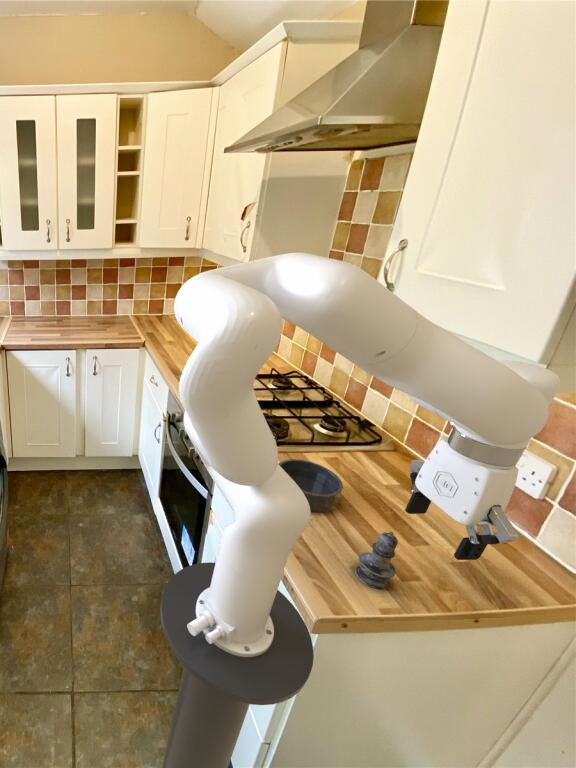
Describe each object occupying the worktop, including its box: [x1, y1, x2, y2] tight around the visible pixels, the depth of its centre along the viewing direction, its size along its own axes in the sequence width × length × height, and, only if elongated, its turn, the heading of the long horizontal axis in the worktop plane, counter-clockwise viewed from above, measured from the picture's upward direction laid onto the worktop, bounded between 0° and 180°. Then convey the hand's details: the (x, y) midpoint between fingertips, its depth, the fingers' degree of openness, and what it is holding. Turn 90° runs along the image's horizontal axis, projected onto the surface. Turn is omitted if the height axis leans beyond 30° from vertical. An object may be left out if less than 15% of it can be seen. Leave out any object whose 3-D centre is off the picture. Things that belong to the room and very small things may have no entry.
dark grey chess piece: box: [354, 531, 399, 590], centre depth 78 cm, size 6×6×12 cm
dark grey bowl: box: [278, 458, 344, 514], centre depth 103 cm, size 14×14×5 cm
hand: (438, 533), depth 67 cm, fingers open, 9 cm apart
